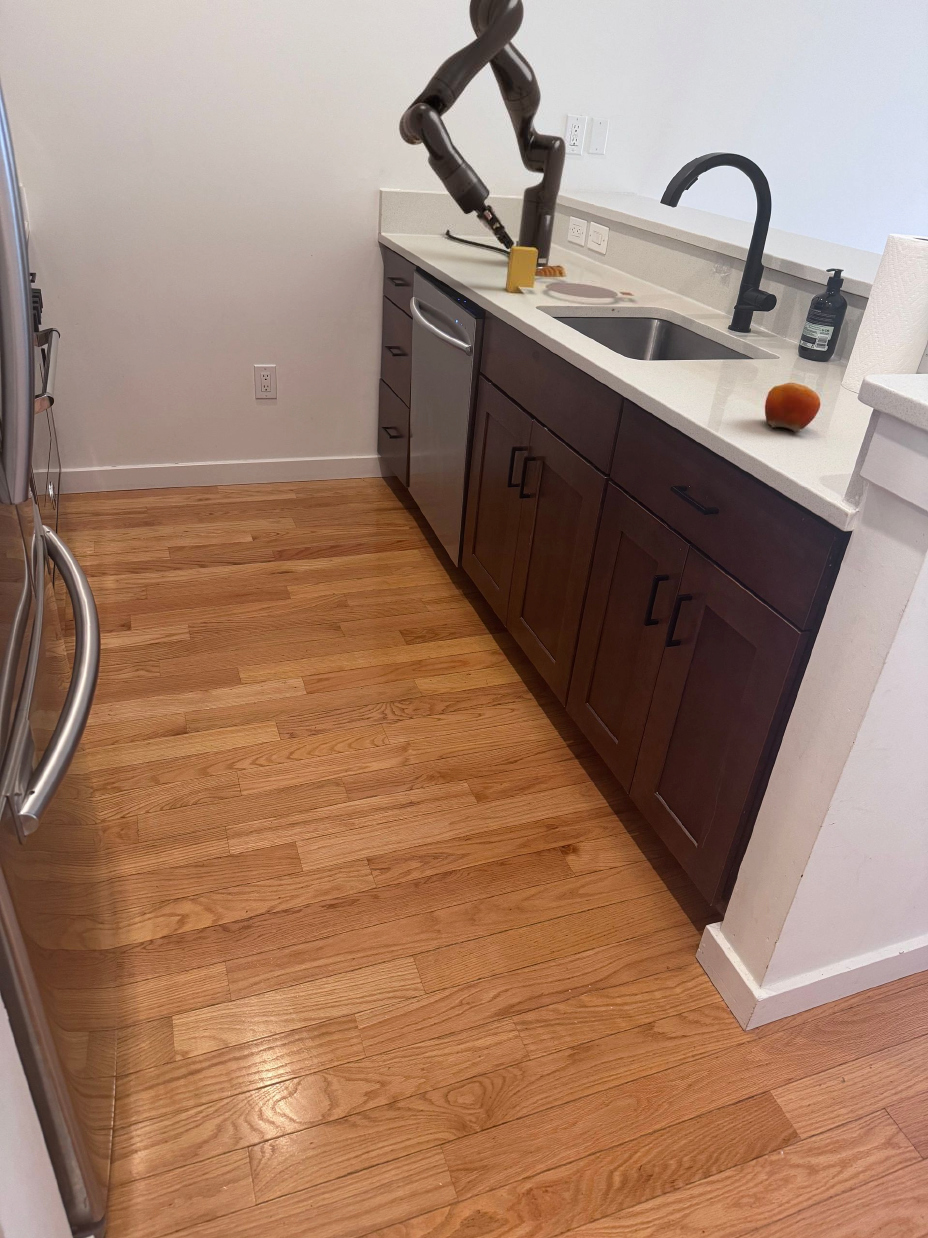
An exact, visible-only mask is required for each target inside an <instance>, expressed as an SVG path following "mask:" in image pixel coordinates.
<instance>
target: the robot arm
mask: <svg viewBox="0 0 928 1238" xmlns="http://www.w3.org/2000/svg"><path fill="white" fill-rule="evenodd" d="M468 7H469V9H468V10H469V11H468V12H469V13H468V14H469V21H470V24H471V28H472V30H473V32H474V35H475V36H476V38H475V39H474V40H472V41H471V42H470V43H469V44H467V45H466V46H464V47H462V48H461V49H459V50H457V51H456V52H454V53H453V54H452V55H450V56H448V57H447V58H446V59H445V60H444V62H442V63H441V65H439V67H438V68H437V70H436V71H435V73H434V74H433V75H432V77H431V78H430V79H429V81H428V82H427V84H426V86H425V88H424V89H423V90H422V91H421V93H420V94H419V95H417V97H416V98H415V99H414V101H412V103H411V104H410V105H409V106H408V107H407V108H406V110H405V111H404V112H403V114H402V116H401V117H400V120H399V123H398V130H399V135H400V137H401V139H402V140H403V141H404V142H405V143H406V144H407V145H411V146H418V145H421V144H423V146H424V148H425V150H426V151H427V153H428V157H427V163H428V165H429V167H430V168H431V170H432V171H433V172H434V173H435V175H436V176H437V178H438V179H439V180H440V181H441V183H442V184H443V186H444V188H445V190H446V191H447V192H448V194H449V195H450V197H451V198H452V199H453V201H454V202H455V203H456V204H457V206H458V207H459V209H460V210H461V211H462V212H463V214H465V215H470V214H472V213H473V212H475V213H476V214H477V215H475V217H476V218H477V219H478V221H479V222H480V223H481V224H482V225H483V226H484V227H485V228H486V229H487V230H488V231H489V232H491V233H492V234H493V235H494V237H495V238H496V239H497V241H498V242H499V243H500V244H501V245H503V246H504V248H505V249H504V248H500V247H498V246H492V245H490V244H485V243H480V242H476V241H472V240H468V239H463V238H461V237H457V236H454V235H452V234H451V230H450V229H449V230H450V231H449V230H448V229H446V232H445V235H446V236H447V238H449V239H451V240H454V241H457V242H460V243H463V244H467V245H471V246H476V247H479V248H485V249H488V250H493V251H496V252H500V253H503V254H505V255H508V256H509V254H510V248H511V247H512V246H522V247H534V248H535V249H537V250H538V255H537V263H536V270H537V269H541V268H542V267H544V266H549V262H550V255H551V247H552V239H553V232H554V224H555V217H556V209H557V202H558V201H557V200H558V196H559V193H560V189H561V183H562V178H563V173H564V166H565V161H566V155H567V150H566V149H567V146H566V142H565V140H564V138H563V137H561V136H557V135H551V134H543V133H539V132H538V131H537V130H536V127H535V125H534V124H535V123H534V119H535V117H536V115H537V112H538V110H539V107H540V104H541V97H542V94H541V90H540V86H539V83H538V79H537V77H536V74H535V71H534V69H533V67H532V66H531V64H530V62H529V61H528V60H527V58H526V57H525V56H524V55H523V54H522V52H520V51H519V49H518V48H517V47H516V46H515V44H514V43H513V42H512V40H513V39H514V38H515V36H516V35H517V33H519V31H520V29H521V27H522V24H523V21H524V12H525V11H524V3H523V0H470V1H469V6H468ZM488 64H489V65H490V68H491V71H492V73H493V77H494V78H495V81H496V84H497V86H498V90H499V92H500V96H501V98H502V101H503V104H504V107H505V109H506V111H507V113H508V117H509V119H510V122H511V125H512V128H513V131H514V135H515V137H516V142H517V146H518V150H519V151H518V152H519V156H520V159H521V162H522V164H523V167H524V168H525V169H526V170H527V171H528V172H530V173H534V174H535V173H537V174H542V179H541V181H540V182H538V183H537V184H535V185H531V186H528V187H526V188H525V189H524V191H523V197H522V206H521V214H520V224H519V232H518V240H516V243H515V242H514V240H513V239H512V237H511V236H510V235H509V233H508V232H507V231H506V228H505V225H503V224H502V220H501V219H500V217H499V216H498V215H497V213H496V210H494V208H493V207H492V205H490V204H489V203H488V204H486V203H485V201H486V200H487V199H488V198H489V196H490V194H491V193H490V192H491V191H490V189H489V188H488V187H487V185H486V184H485V183H484V182H483V180H482V179H481V177H480V176H479V175H478V173H477V172H476V171H475V169H474V168H473V167H472V165H471V164H469V162H468V161H467V160H466V159H465V157H464V156H463V155H462V153H461V152H460V151H459V149H458V148H457V147H456V145H455V144H454V142H453V140H452V138H451V136H450V135H451V134H450V132H449V131H448V129H447V127H446V125H445V122H444V120H443V118H442V116H444V115H445V114H447V112H449V111H450V110H451V108H452V107H454V105H455V103H456V102H457V101H458V99H459V98H460V97H461V95H462V94H463V92H464V91H465V89H466V88H467V87H468V86H469V84H470V83H471V82H472V80H473V79H474V78H475V77H476V76H477V75H478V74H479V73H480V71H482V70H483V69H484V68H485V67H486V66H487V65H488Z"/></svg>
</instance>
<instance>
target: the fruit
mask: <svg viewBox="0 0 928 1238" xmlns="http://www.w3.org/2000/svg"><path fill="white" fill-rule="evenodd" d="M820 407H821V398H820V396H819V395H818V394H817V392H816V391H815V390H813V389H812V388H810V387H809V386H807V385H804V384H800V383H797V382H786V383H783V384H780V385H774V387H772V388H771V389H770V390H769V391H768V392H767V396H766V399H765V403H764V415H765V421H766V423H767V424H769V425H770V426H771V429H773V428H786V429H789V430H792V431H793V432H794V433H795V435H796V436H798V431H799V430H804V428H806V427H808V425H810V424H811V422H812V421H813V420H814V419H815V418H816V416H817V415H818V413H819V411H820Z"/></svg>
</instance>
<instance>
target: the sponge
mask: <svg viewBox="0 0 928 1238" xmlns="http://www.w3.org/2000/svg"><path fill="white" fill-rule="evenodd" d="M509 252H510V254H509V255H508V265H507V273H506V283H505V289H506V290H507V292H508V293H513V294H524V291H522V289H521V288H529V289H530V288H531V289H533V288H535V287H534V285H535V280H536V279H535V277H536V276H535V271H536V263H537V255H538V250H537V249H535V248H534V247H522V246H516V245H513V246H512V247H511V248H510V249H509Z"/></svg>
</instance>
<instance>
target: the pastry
mask: <svg viewBox="0 0 928 1238" xmlns="http://www.w3.org/2000/svg"><path fill="white" fill-rule="evenodd" d="M566 274H567V273H566V271H565V267H563V266H562V265H561V264H559V265H548V266H544V267H542V268H541V269H537V270H536V271H535V277H540V278H567V275H566Z"/></svg>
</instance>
